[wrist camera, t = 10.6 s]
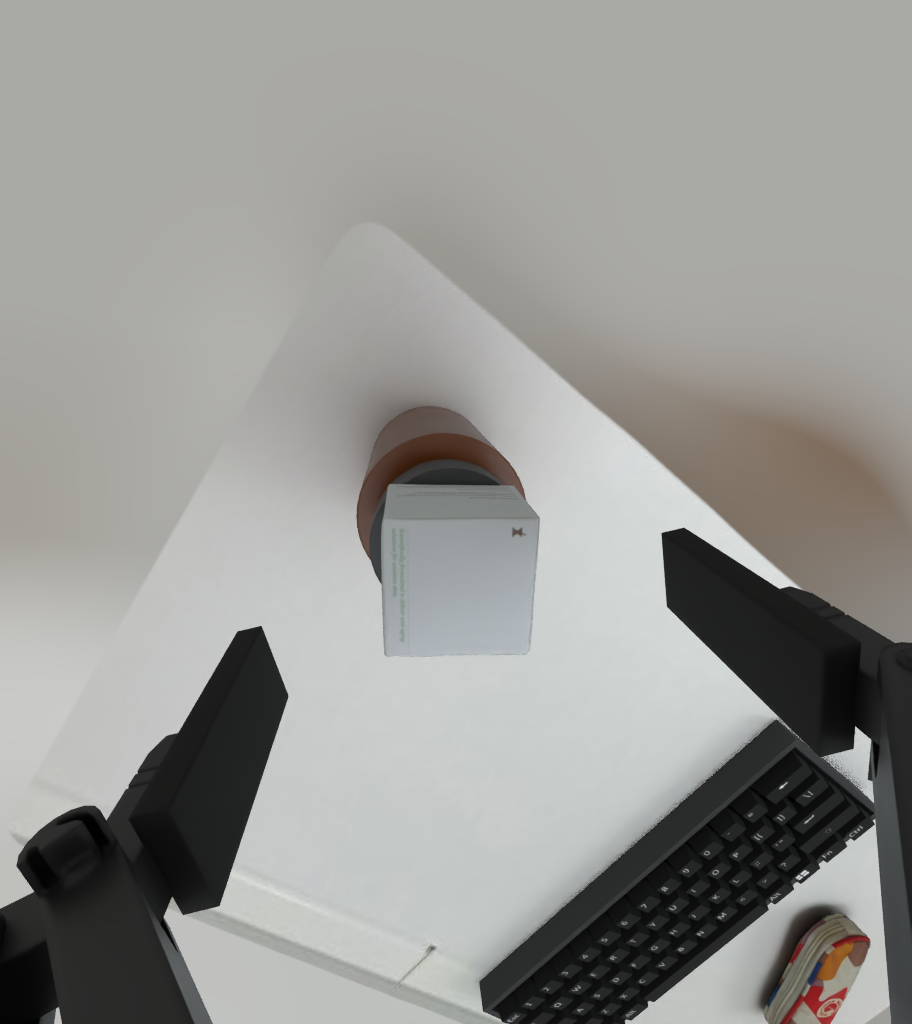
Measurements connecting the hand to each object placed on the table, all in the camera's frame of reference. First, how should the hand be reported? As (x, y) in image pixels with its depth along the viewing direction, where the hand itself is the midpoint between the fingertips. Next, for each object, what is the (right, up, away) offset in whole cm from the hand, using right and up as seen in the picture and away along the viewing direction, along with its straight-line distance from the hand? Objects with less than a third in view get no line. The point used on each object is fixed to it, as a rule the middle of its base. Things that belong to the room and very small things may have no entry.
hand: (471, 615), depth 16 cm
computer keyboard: (+23, -39, +40) cm, 60 cm away
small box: (-1, +2, +6) cm, 7 cm away
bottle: (-2, +7, +22) cm, 24 cm away
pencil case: (+42, -53, +47) cm, 82 cm away
